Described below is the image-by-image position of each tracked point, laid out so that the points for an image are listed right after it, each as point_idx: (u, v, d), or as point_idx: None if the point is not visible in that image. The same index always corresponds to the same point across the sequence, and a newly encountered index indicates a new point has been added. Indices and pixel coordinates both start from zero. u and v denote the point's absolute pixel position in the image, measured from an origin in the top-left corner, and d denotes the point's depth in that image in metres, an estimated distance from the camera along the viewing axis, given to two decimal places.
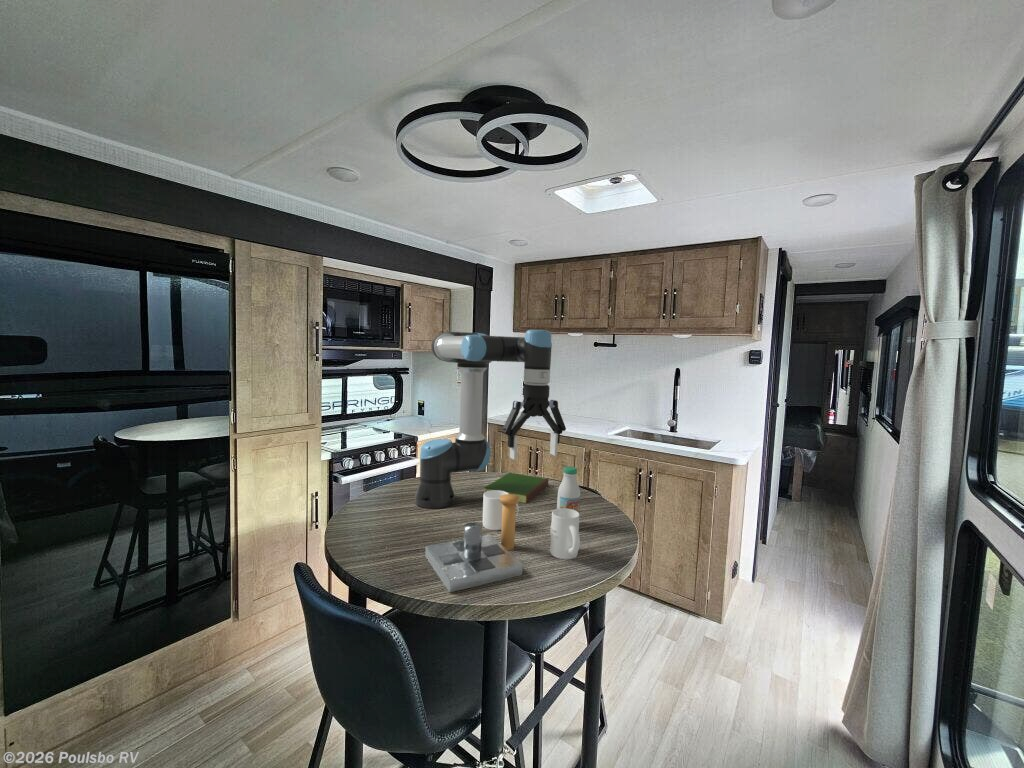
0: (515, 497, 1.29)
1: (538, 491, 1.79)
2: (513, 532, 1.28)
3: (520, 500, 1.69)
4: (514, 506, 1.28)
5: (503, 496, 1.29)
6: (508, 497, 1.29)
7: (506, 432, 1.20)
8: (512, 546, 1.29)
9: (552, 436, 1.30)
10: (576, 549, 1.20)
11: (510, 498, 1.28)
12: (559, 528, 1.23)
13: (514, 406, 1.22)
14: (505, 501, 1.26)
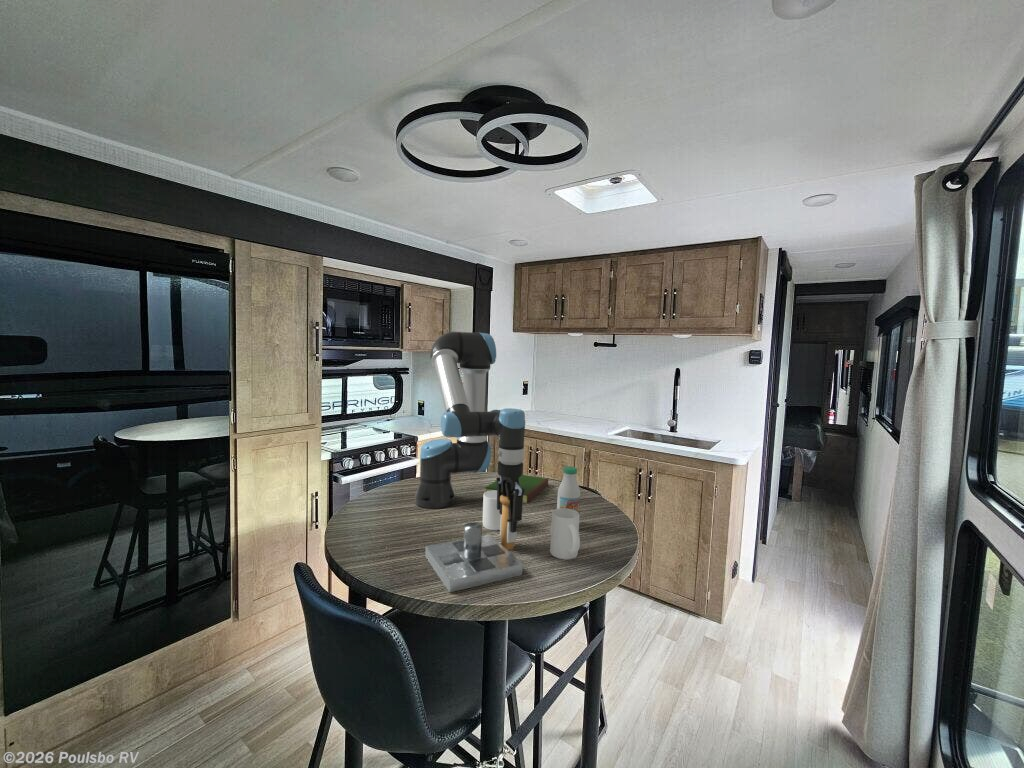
0: None
1: (539, 491, 1.79)
2: None
3: None
4: None
5: (503, 496, 1.29)
6: None
7: (497, 507, 1.33)
8: (512, 546, 1.29)
9: None
10: (576, 549, 1.20)
11: None
12: (559, 528, 1.23)
13: None
14: (505, 501, 1.26)
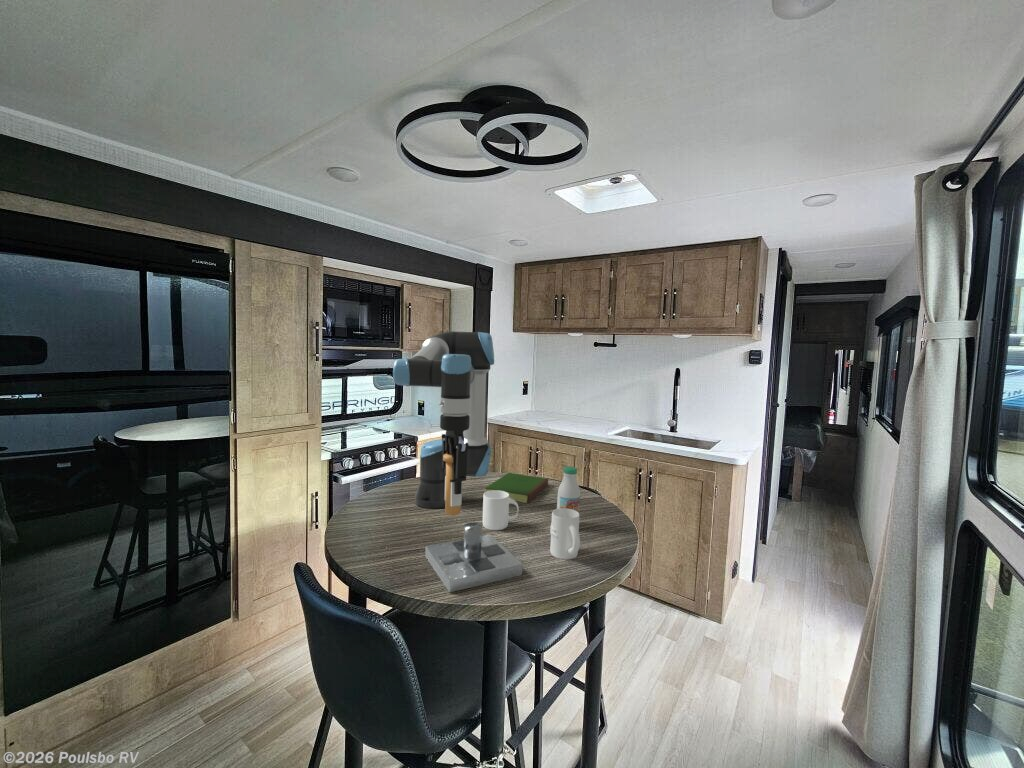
0: None
1: (539, 491, 1.79)
2: None
3: (521, 500, 1.69)
4: None
5: (447, 454, 1.13)
6: None
7: (442, 468, 1.17)
8: (457, 511, 1.13)
9: None
10: (576, 549, 1.20)
11: None
12: (559, 528, 1.23)
13: None
14: (448, 459, 1.10)
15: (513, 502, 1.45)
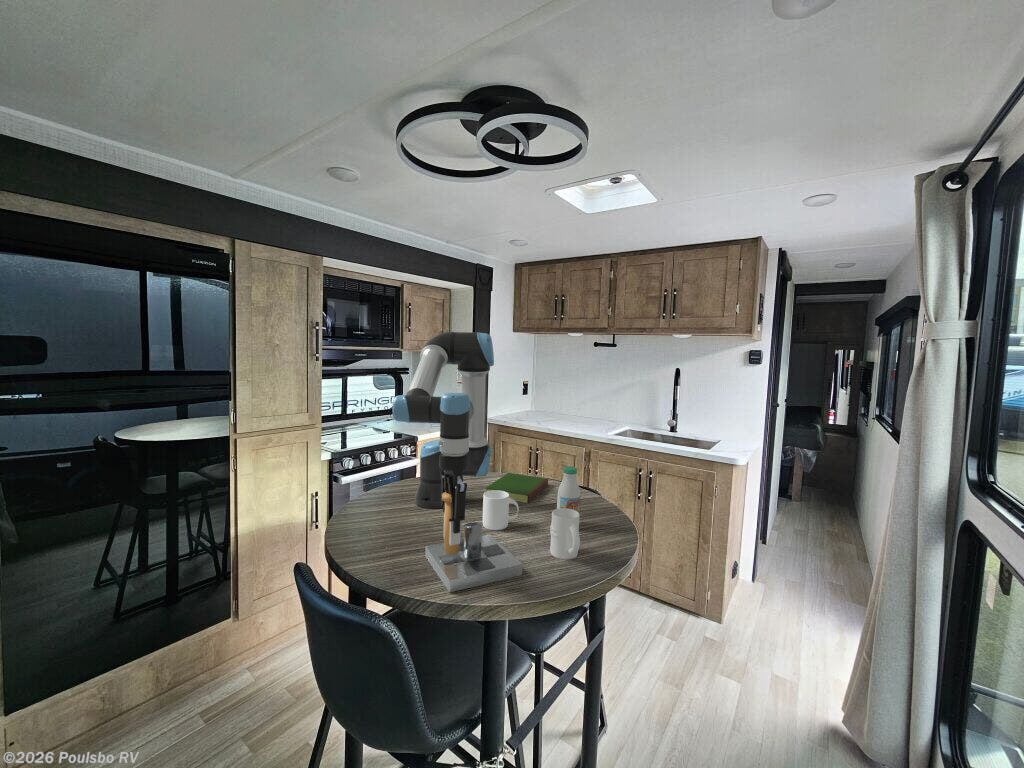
0: None
1: (539, 491, 1.79)
2: None
3: (521, 500, 1.69)
4: None
5: (446, 493, 1.14)
6: None
7: (441, 505, 1.18)
8: (456, 550, 1.13)
9: None
10: (576, 549, 1.20)
11: None
12: (559, 528, 1.23)
13: None
14: (447, 499, 1.11)
15: (513, 502, 1.45)
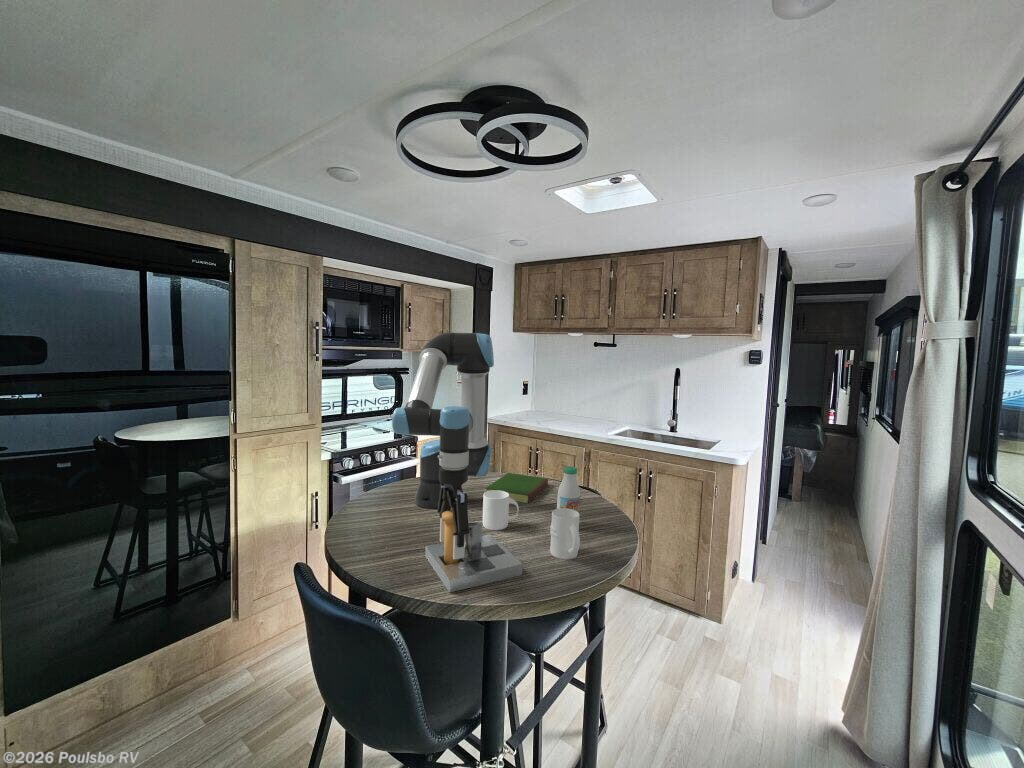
0: None
1: (539, 491, 1.79)
2: None
3: (522, 500, 1.69)
4: None
5: (446, 513, 1.15)
6: (451, 514, 1.14)
7: (437, 510, 1.21)
8: None
9: None
10: (576, 549, 1.20)
11: None
12: (559, 528, 1.23)
13: None
14: (446, 519, 1.12)
15: (513, 502, 1.45)
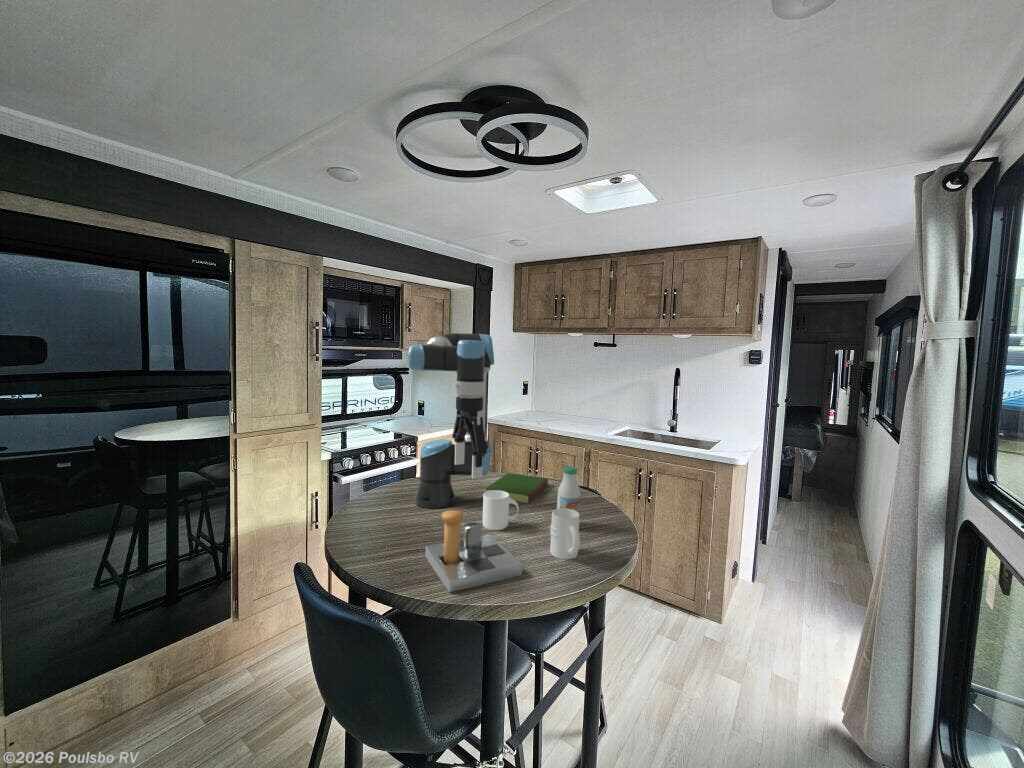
0: (460, 514, 1.14)
1: (539, 491, 1.79)
2: (457, 554, 1.14)
3: (522, 500, 1.69)
4: (457, 524, 1.13)
5: (446, 513, 1.15)
6: (451, 514, 1.14)
7: (452, 435, 1.30)
8: None
9: None
10: (576, 549, 1.20)
11: (453, 515, 1.13)
12: (559, 528, 1.23)
13: None
14: (446, 519, 1.12)
15: (513, 502, 1.45)
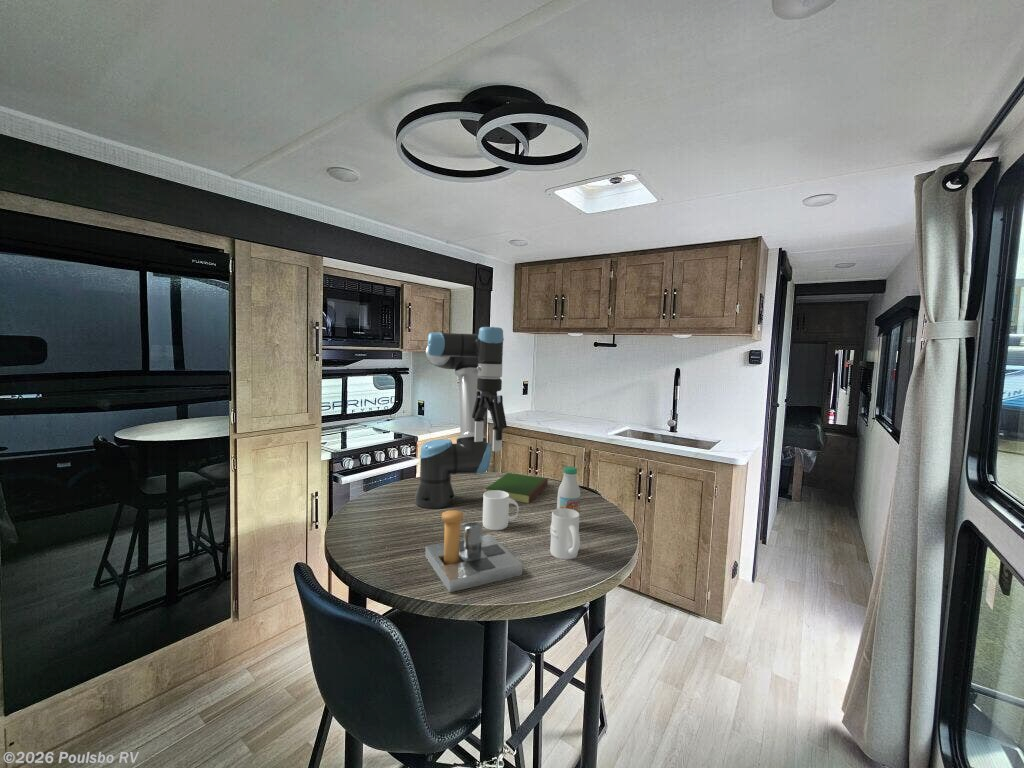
0: (460, 514, 1.14)
1: (539, 491, 1.79)
2: (457, 554, 1.14)
3: (523, 500, 1.69)
4: (457, 524, 1.13)
5: (446, 513, 1.15)
6: (451, 514, 1.14)
7: (472, 416, 1.43)
8: None
9: None
10: (576, 549, 1.20)
11: (453, 515, 1.13)
12: (559, 528, 1.23)
13: None
14: (446, 519, 1.12)
15: (513, 502, 1.45)
